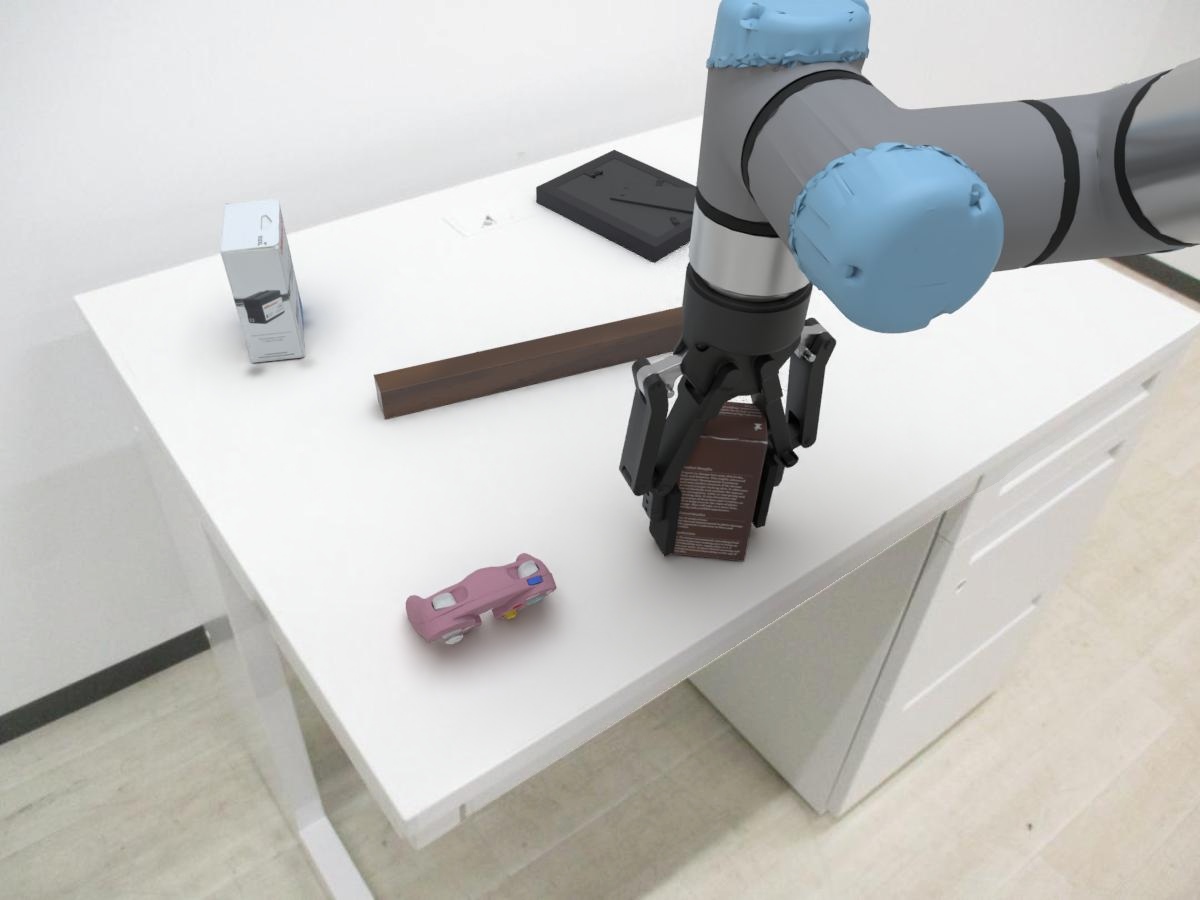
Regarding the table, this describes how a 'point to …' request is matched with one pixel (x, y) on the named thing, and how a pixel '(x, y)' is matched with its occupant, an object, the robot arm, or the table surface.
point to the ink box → (262, 279)
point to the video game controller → (480, 598)
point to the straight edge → (526, 363)
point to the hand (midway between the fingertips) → (707, 528)
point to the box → (722, 484)
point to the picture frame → (625, 203)
